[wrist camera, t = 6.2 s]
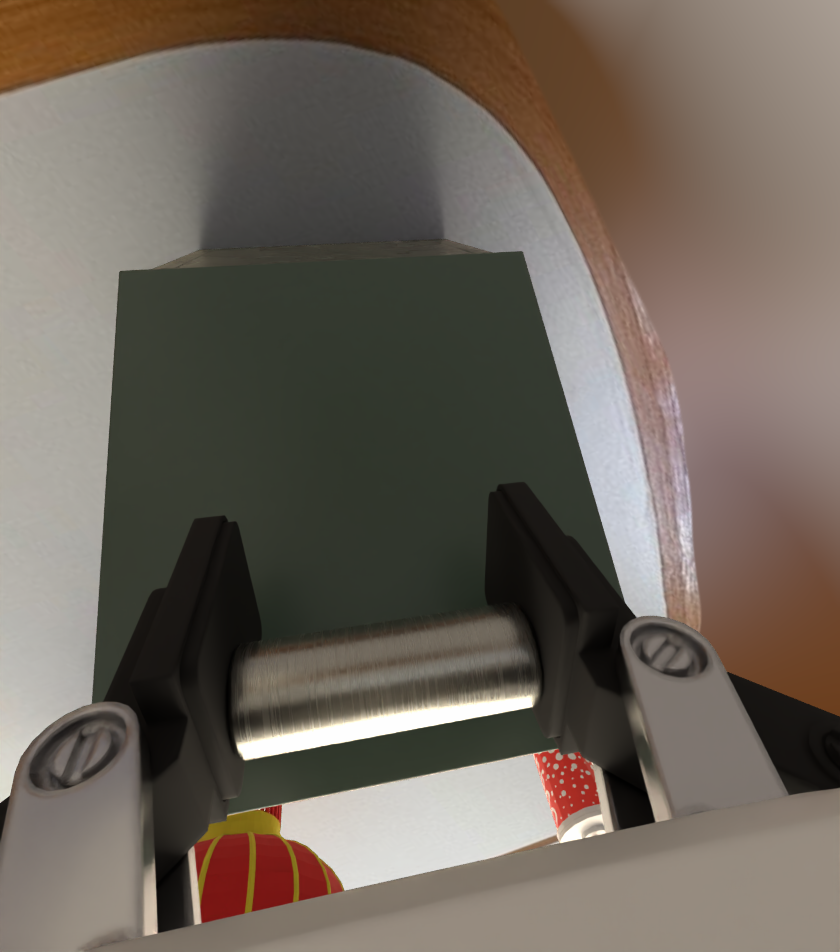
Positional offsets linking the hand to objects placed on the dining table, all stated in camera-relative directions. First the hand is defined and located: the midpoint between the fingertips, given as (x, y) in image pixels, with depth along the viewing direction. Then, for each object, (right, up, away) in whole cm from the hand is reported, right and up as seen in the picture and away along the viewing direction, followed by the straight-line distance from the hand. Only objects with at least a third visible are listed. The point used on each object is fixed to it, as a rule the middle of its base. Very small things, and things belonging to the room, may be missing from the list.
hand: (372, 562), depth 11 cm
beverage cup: (+14, -24, +40) cm, 49 cm away
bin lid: (-1, +2, +4) cm, 4 cm away
